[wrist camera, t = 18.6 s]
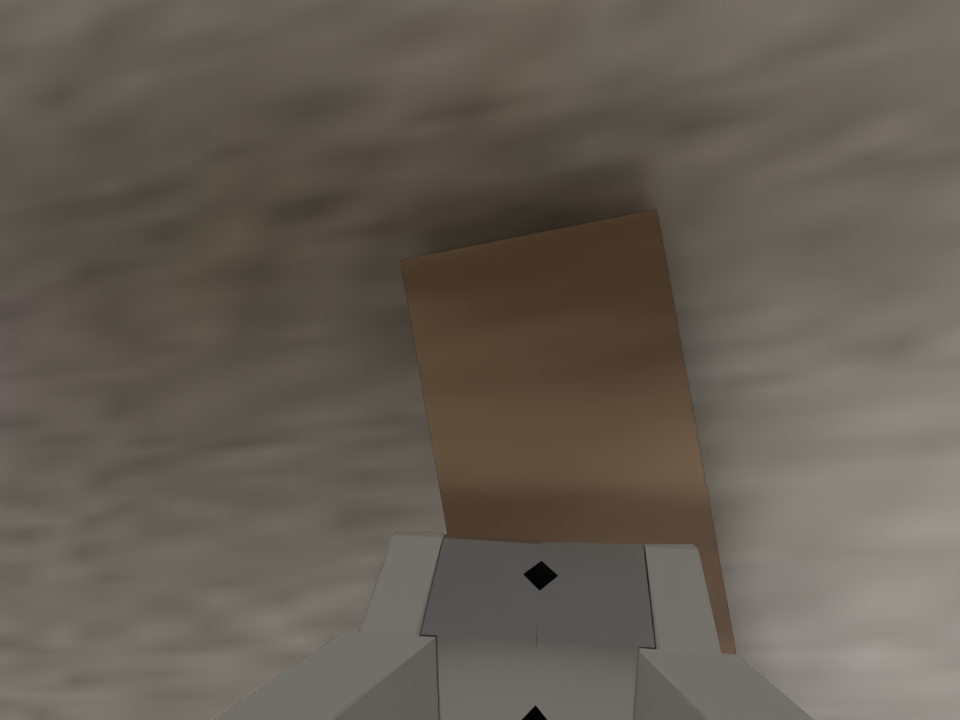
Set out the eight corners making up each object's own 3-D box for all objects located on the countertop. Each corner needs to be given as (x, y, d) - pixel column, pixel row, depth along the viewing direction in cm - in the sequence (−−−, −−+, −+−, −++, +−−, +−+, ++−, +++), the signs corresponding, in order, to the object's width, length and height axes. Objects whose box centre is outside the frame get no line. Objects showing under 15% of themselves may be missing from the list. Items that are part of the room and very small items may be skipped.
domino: (654, 225, 19) (737, 696, 19) (425, 270, 20) (503, 722, 20) (657, 209, 17) (751, 742, 17) (400, 260, 18) (487, 768, 17)
